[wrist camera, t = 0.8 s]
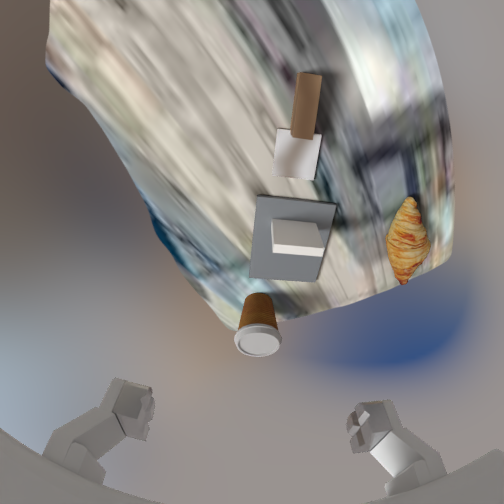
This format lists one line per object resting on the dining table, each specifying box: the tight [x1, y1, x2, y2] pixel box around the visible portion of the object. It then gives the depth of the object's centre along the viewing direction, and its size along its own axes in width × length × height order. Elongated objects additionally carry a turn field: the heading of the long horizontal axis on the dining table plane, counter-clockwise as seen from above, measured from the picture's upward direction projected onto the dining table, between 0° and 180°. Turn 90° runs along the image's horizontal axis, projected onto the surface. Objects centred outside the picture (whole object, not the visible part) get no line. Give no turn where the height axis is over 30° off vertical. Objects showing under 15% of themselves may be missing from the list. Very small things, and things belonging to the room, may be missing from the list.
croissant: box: [385, 196, 431, 285], centre depth 48 cm, size 21×10×8 cm, turn 15°
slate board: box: [249, 195, 336, 282], centre depth 51 cm, size 18×14×1 cm
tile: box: [271, 219, 325, 257], centre depth 45 cm, size 2×8×8 cm, turn 85°
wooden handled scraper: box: [272, 72, 322, 180], centre depth 37 cm, size 7×18×4 cm, turn 175°
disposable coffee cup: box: [234, 293, 282, 357], centre depth 56 cm, size 10×10×12 cm
